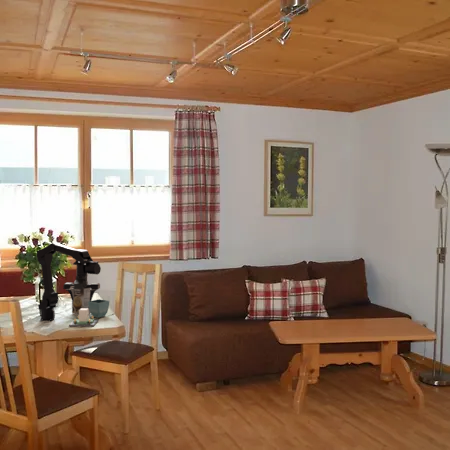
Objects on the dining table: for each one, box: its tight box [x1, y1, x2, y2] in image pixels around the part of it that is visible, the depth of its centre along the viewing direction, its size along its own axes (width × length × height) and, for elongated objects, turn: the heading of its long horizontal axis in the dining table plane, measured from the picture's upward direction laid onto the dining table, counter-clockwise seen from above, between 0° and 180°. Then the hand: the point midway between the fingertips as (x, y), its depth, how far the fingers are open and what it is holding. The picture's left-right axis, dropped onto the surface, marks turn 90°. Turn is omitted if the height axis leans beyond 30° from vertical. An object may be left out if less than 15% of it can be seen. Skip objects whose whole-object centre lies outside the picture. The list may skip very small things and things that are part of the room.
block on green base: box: [72, 308, 95, 324], centre depth 299 cm, size 10×10×7 cm
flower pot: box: [88, 298, 110, 318], centre depth 318 cm, size 9×9×9 cm
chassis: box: [68, 315, 99, 328], centre depth 299 cm, size 13×13×4 cm
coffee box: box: [71, 288, 91, 316], centre depth 326 cm, size 9×6×16 cm
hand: (81, 301), depth 300 cm, fingers open, 9 cm apart
